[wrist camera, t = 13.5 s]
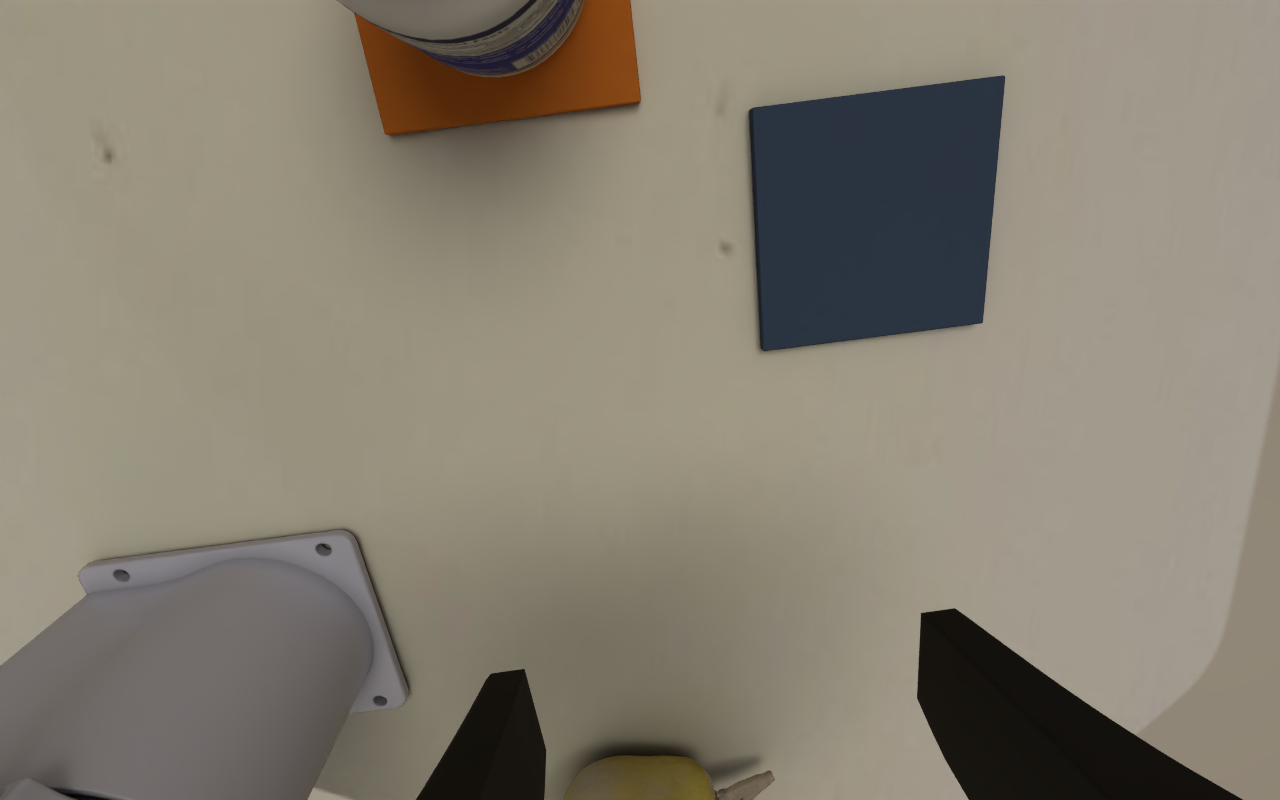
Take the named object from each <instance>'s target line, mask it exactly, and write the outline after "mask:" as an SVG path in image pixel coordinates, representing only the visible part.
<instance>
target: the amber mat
mask: <svg viewBox="0 0 1280 800" xmlns="http://www.w3.org/2000/svg"><path fill="white" fill-rule="evenodd" d="M354 14H355V13H354ZM355 18H356V21H357V25H358V29H359V33H360V37H361V41H362V45H363V49H364V53H365V57H366V61H367V65H368V69H369V73H370V77H371V81H372V85H373V89H374V93H375V97H376V101H377V105H378V109H379V113H380V117H381V120H382V124H383V128H384V132H385V134H386V135H396V134H404V133H412V132H420V131H427V130H435V129H443V128H451V127H458V126H466V125H474V124H482V123H489V122H497V121H505V120H512V119H520V118H528V117H536V116H543V115H551V114H559V113H567V112H574V111H582V110H590V109H598V108H605V107H613V106H621V105H629V104H636V103H640V101H641V97H640V87H639V78H638V69H637V59H636V50H635V41H634V31H633V22H632V13H631V3H630V0H585V1H584V4H583V8H582V11H581V13H580V16H579V18H578V20H577V22H576V24H575V26H574V28H573V29H572V31H571V33H570V34H569V36H568V37H567V38H566V40H565V41H564V42H563V44H562V45H561V46H560V47H559V48H558V49H557V50H556V51H555V52H554V53H553V54H552V55H551V56H550V57H548V58H547V59H546V60H545V61H543V62H541V63H540V64H538V65H537V66H535V67H533V68H531V69H529V70H527V71H524V72H521V73H518V74H515V75H510V76H503V77H482V76H475V75H471V74H467V73H464V72H461V71H458V70H455V69H453V68H451V67H448V66H446V65H445V64H443V63H441V62H439V61H437V60H435V59H434V58H432V57H430V56H429V55H427V54H425V53H423V52H422V51H420V50H418V49H416V48H415V47H413V46H411V45H409V44H407V43H406V42H404V41H402V40H400V39H398V38H396V37H394V36H393V35H391V34H389V33H388V32H385V31H384V30H382V29H380V28H378V27H377V26H375V25H373V24H371V23H370V22H368V21H367V20H365V19H364V18H362V17H360V16H359V15H357V14H355Z"/></svg>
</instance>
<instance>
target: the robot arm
mask: <svg viewBox="0 0 1280 800" xmlns="http://www.w3.org/2000/svg"><path fill="white" fill-rule="evenodd" d="M321 543H324V544H327V545H329V546H330V548H331V549H326V548H324V547H323V546H322V545H321ZM123 570H124V571H126V572H127V573H128V574H127V573H125V572H124V571H123ZM78 578H79V581H80V583H81V585H82V586H83V588H84V590H85V592H86V593H87V595H86V596H85V597H84V598H83V599H82V600H80V601H79V602H78V603H77V604H75V605H74V606H73V607H72V608H71V609H69V610H68V611H67V612H66V613H64V614H63V615H62V616H61V617H60V618H58V619H57V620H56V621H55V622H53V623H52V624H51V625H50V626H49V627H47V628H46V629H45V630H44V631H42V632H41V633H40V634H39V635H38V636H36V637H35V638H34V639H33V640H31V641H30V642H29V643H28V644H27V645H25V646H24V647H23V648H22V649H20V650H19V651H18V652H17V653H16V654H14V655H13V656H12V657H11V658H9V659H8V660H7V661H6V662H5V663H3V664H2V665H1V666H0V800H307V799H308V797H309V795H310V793H311V791H312V789H313V787H314V785H315V783H316V780H317V778H318V776H319V774H320V772H321V770H322V768H323V766H324V764H325V762H326V760H327V757H328V755H329V753H330V751H331V749H332V747H333V745H334V743H335V741H336V739H337V737H338V735H339V732H340V730H341V728H342V726H343V724H344V722H345V720H346V718H347V716H348V714H352V713H360V712H367V711H375V710H383V709H391V708H397V707H401V706H402V705H404V704H405V702H406V700H407V697H408V695H409V690H408V687H407V685H406V682H405V679H404V676H403V673H402V670H401V667H400V664H399V661H398V659H397V656H396V653H395V650H394V647H393V644H392V641H391V638H390V636H389V633H388V630H387V627H386V624H385V621H384V618H383V615H382V613H381V610H380V607H379V604H378V601H377V598H376V595H375V592H374V590H373V587H372V584H371V581H370V578H369V575H368V572H367V569H366V567H365V564H364V561H363V558H362V555H361V552H360V549H359V546H358V543H357V541H356V539H355V537H354V536H353V535H352V534H351V533H350V532H347V531H345V530H334V531H326V532H318V533H310V534H302V535H295V536H287V537H279V538H271V539H264V540H256V541H248V542H240V543H232V544H225V545H217V546H209V547H201V548H193V549H186V550H178V551H170V552H162V553H155V554H147V555H139V556H131V557H123V558H116V559H108V560H100V561H93V562H90V563H88V564H87V565H86V566H84V567H83V568H82V569H81V570H80V571H79V573H78ZM380 696H383V697H380ZM917 699H918V701H919V703H920V706H921V708H922V710H923V712H924V715H925V717H926V719H927V721H928V724H929V726H930V728H931V730H932V733H933V735H934V737H935V739H936V741H937V743H938V745H939V747H940V750H941V752H942V754H943V756H944V758H945V760H946V761H947V763H948V765H949V767H950V768H951V770H952V772H953V774H954V775H955V777H956V779H957V780H958V782H959V784H960V785H961V787H962V789H963V791H964V792H965V794H966V796H967V797H968V799H969V800H1242V799H1241V798H1239V797H1237V796H1236V795H1234V794H1232V793H1230V792H1229V791H1227V790H1225V789H1223V788H1222V787H1220V786H1218V785H1216V784H1214V783H1213V782H1211V781H1209V780H1208V779H1206V778H1204V777H1202V776H1201V775H1199V774H1197V773H1195V772H1193V771H1192V770H1190V769H1189V768H1187V767H1185V766H1184V765H1182V764H1180V763H1179V762H1177V761H1175V760H1174V759H1172V758H1170V757H1169V756H1167V755H1165V754H1164V753H1162V752H1161V751H1159V750H1157V749H1156V748H1154V747H1153V746H1151V745H1150V744H1148V743H1146V742H1145V741H1143V740H1142V739H1140V738H1139V737H1137V736H1136V735H1134V734H1132V733H1131V732H1129V731H1128V730H1126V729H1125V728H1123V727H1122V726H1120V725H1118V724H1117V723H1115V722H1114V721H1112V720H1111V719H1109V718H1108V717H1106V716H1105V715H1103V714H1102V713H1100V712H1099V711H1097V710H1096V709H1094V708H1093V707H1091V706H1090V705H1088V704H1087V703H1085V702H1084V701H1082V700H1081V699H1080V698H1078V697H1077V696H1075V695H1074V694H1072V693H1071V692H1069V691H1068V690H1067V689H1065V688H1064V687H1062V686H1061V685H1059V684H1058V683H1057V682H1055V681H1054V680H1052V679H1051V678H1050V677H1048V676H1047V675H1045V674H1044V673H1043V672H1041V671H1040V670H1038V669H1037V668H1036V667H1034V666H1033V665H1031V664H1030V663H1029V662H1027V661H1026V660H1025V659H1023V658H1022V657H1020V656H1019V655H1018V654H1016V653H1015V652H1014V651H1012V650H1011V649H1009V648H1008V647H1007V646H1005V645H1004V644H1003V643H1001V642H1000V641H999V640H997V639H996V638H995V637H993V636H992V635H991V634H989V633H988V632H987V631H985V630H984V629H982V628H981V627H980V626H978V625H977V624H976V623H974V622H973V621H972V620H970V619H969V618H968V617H966V616H965V615H963V614H962V613H961V612H959V611H958V610H956V609H947V610H940V611H933V612H926V613H921V627H920V648H919V670H918V691H917ZM545 768H546V748H545V744H544V740H543V736H542V733H541V729H540V725H539V721H538V718H537V714H536V710H535V707H534V703H533V699H532V695H531V692H530V688H529V684H528V680H527V677H526V673H525V669H521V670H514V671H506V672H499V673H492V674H490V676H489V677H488V678H487V679H486V681H485V683H484V685H483V686H482V688H481V690H480V692H479V694H478V696H477V697H476V699H475V701H474V703H473V705H472V707H471V708H470V710H469V712H468V714H467V716H466V717H465V719H464V721H463V723H462V724H461V726H460V728H459V730H458V731H457V733H456V735H455V736H454V738H453V740H452V742H451V743H450V745H449V747H448V749H447V750H446V752H445V753H444V755H443V757H442V758H441V760H440V762H439V763H438V765H437V767H436V768H435V770H434V771H433V773H432V775H431V776H430V778H429V780H428V781H427V783H426V785H425V786H424V788H423V789H422V791H421V793H420V794H419V796H418V797H417V799H416V800H544V793H545Z"/></svg>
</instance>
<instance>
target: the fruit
mask: <svg viewBox="0 0 1280 800" xmlns="http://www.w3.org/2000/svg"><path fill="white" fill-rule="evenodd" d="M774 780H775V779H774V776H773V774H772V772H771V771H767V772H765V773H762V774H757V775H754V776H752V777H749V778H747V779H745V780H742V781H739V782H737V783H735V784H734V785H732V786H730V787H729V788H727V789H721V790H719V791H718V792H717V791H715V790H714V788H713V785H712V782H711V779H710V776H709V775H708V773H707V772H706V770H705V769H704V768H703V767H702V766H700V765H699V764H698V763H697V762H696V761H694V760H692V759H690V758H687V757H680V756H665V755H660V756H629V755H620V756H612V757H608V758H605V759H601V760H598V761H596V762H593V763H591V764H589V765H587V766H586V767H585V768H584V769H583V770H581V771H580V772H579V773H578V775H577V776H576V777H575V779H574V780H573V781H572V783H571V785H570V786H569V788H568V790H567V792H566V795H565V798H564V800H752V799H754V798H755V797H756V796H757V795H758V794H759V793H760V792H761V791H763V790H764V789H765V788H766V787H768V786H769V785H770V784H771V783H772V782H773V781H774Z"/></svg>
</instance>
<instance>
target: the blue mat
mask: <svg viewBox="0 0 1280 800" xmlns="http://www.w3.org/2000/svg"><path fill="white" fill-rule="evenodd" d="M1004 84H1005V76H996V77H988V78H980V79H973V80H965V81H957V82H949V83H942V84H934V85H926V86H918V87H911V88H903V89H895V90H887V91H880V92H872V93H864V94H856V95H849V96H841V97H833V98H825V99H818V100H810V101H802V102H794V103H787V104H779V105H771V106H763V107H756V108H752V109H750V132H751V153H752V174H753V195H754V216H755V236H756V257H757V278H758V299H759V320H760V341H761V348H762V350H763V351H769V350H777V349H785V348H793V347H801V346H808V345H816V344H824V343H832V342H839V341H847V340H855V339H863V338H870V337H878V336H886V335H894V334H902V333H909V332H917V331H925V330H933V329H940V328H948V327H956V326H964V325H971V324H979V323H982V322H983V314H984V303H985V292H986V281H987V270H988V259H989V248H990V237H991V226H992V216H993V205H994V194H995V183H996V172H997V161H998V150H999V139H1000V128H1001V117H1002V106H1003V95H1004Z"/></svg>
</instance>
